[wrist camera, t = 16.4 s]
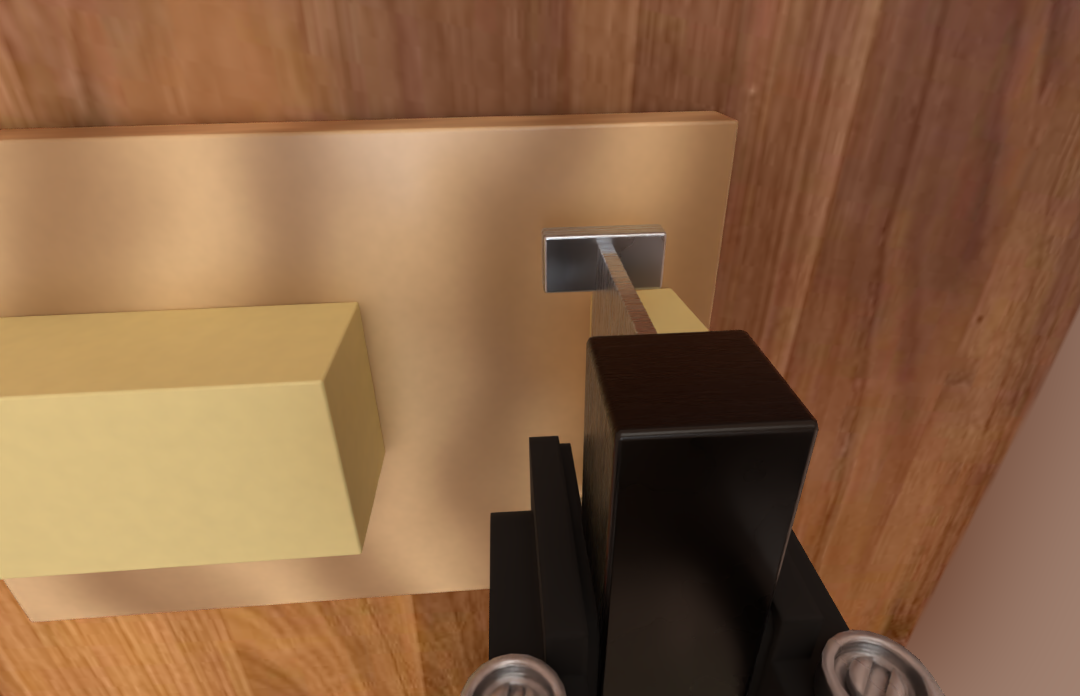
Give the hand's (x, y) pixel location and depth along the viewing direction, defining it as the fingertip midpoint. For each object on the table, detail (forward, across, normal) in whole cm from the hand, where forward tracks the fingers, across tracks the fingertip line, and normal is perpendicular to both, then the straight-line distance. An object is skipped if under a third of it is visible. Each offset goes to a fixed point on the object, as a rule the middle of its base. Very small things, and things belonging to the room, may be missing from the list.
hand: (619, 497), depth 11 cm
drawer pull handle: (+3, 0, 0) cm, 3 cm away
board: (+6, +7, +1) cm, 9 cm away
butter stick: (+5, +10, 0) cm, 11 cm away
